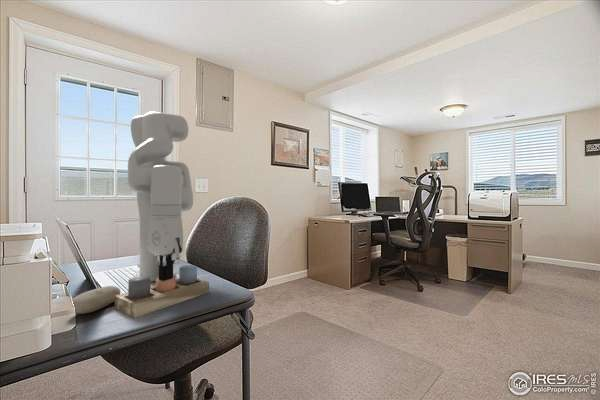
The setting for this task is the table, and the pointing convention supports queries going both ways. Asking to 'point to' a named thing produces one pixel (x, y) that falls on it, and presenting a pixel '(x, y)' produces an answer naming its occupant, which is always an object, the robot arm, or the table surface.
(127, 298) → the birch board
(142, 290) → the charcoal button
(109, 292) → the stone
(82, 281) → the table surface
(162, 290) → the terracotta button
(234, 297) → the table surface
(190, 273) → the slate button
